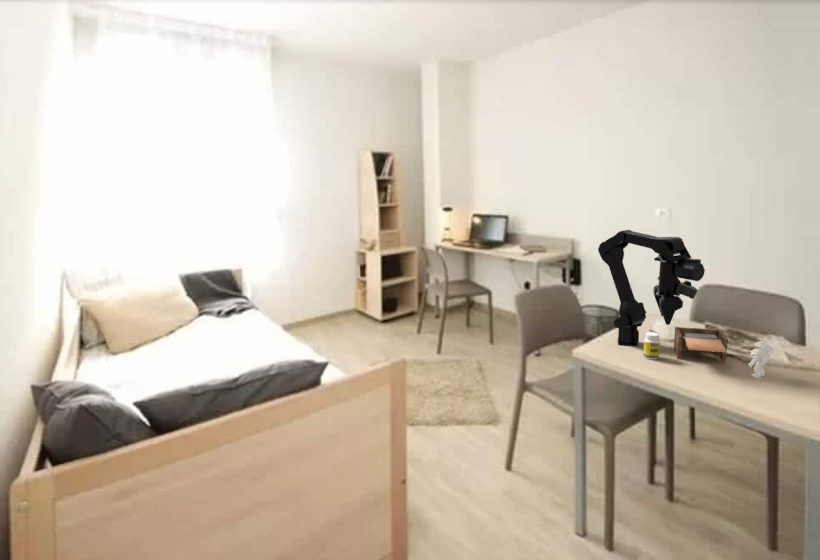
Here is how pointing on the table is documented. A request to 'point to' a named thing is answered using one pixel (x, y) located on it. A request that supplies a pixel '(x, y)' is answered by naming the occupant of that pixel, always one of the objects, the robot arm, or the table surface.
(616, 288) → the robot arm
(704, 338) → the flap
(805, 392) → the table surface
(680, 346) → the stand
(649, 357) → the supplement bottle
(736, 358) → the table surface
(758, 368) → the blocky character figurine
